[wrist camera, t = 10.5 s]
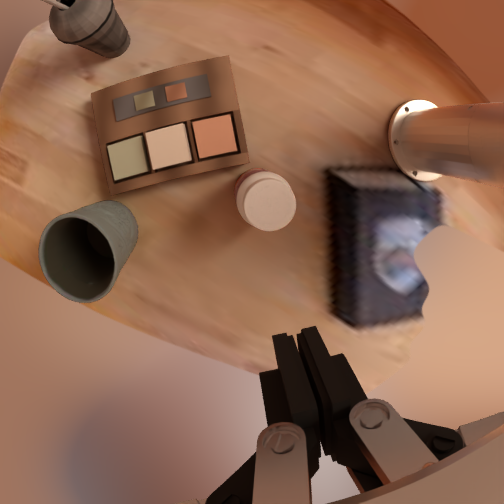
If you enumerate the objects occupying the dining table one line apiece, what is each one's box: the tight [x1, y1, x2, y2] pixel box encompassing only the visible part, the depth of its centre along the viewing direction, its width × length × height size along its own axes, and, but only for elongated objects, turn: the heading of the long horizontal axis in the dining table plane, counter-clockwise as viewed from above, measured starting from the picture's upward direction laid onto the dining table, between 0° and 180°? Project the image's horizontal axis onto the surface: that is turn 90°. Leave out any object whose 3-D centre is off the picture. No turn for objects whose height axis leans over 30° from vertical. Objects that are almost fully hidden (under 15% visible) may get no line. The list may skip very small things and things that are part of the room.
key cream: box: [145, 123, 192, 170], centre depth 34 cm, size 4×4×2 cm
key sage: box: [107, 136, 151, 180], centre depth 35 cm, size 4×4×2 cm
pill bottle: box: [234, 168, 296, 231], centre depth 35 cm, size 6×6×11 cm
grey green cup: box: [39, 200, 138, 303], centre depth 34 cm, size 10×10×12 cm
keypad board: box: [91, 55, 250, 196], centre depth 35 cm, size 18×14×3 cm
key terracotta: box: [192, 114, 237, 158], centre depth 35 cm, size 4×4×2 cm
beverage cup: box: [42, 0, 130, 58], centre depth 22 cm, size 7×7×20 cm
